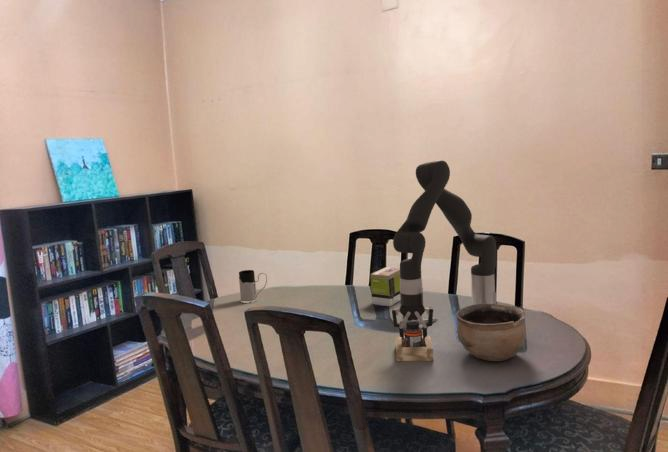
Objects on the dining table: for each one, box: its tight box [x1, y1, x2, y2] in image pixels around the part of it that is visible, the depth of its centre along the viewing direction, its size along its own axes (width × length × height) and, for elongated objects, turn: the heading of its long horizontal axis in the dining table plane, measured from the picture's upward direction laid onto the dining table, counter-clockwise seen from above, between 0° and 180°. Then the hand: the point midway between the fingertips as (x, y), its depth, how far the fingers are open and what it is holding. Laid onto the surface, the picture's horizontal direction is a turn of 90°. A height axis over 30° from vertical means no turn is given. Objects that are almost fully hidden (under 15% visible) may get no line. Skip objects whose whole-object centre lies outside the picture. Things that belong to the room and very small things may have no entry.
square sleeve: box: [394, 335, 434, 362], centre depth 166 cm, size 12×12×4 cm
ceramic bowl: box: [455, 303, 527, 362], centre depth 159 cm, size 22×22×15 cm
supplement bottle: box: [404, 320, 423, 347], centre depth 165 cm, size 6×6×11 cm
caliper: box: [406, 317, 439, 327], centre depth 191 cm, size 20×1×6 cm, turn 137°
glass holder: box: [238, 269, 268, 301], centre depth 242 cm, size 9×14×15 cm, turn 96°
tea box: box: [370, 266, 401, 307], centre depth 227 cm, size 15×10×15 cm
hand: (413, 337), depth 165 cm, fingers open, 6 cm apart
